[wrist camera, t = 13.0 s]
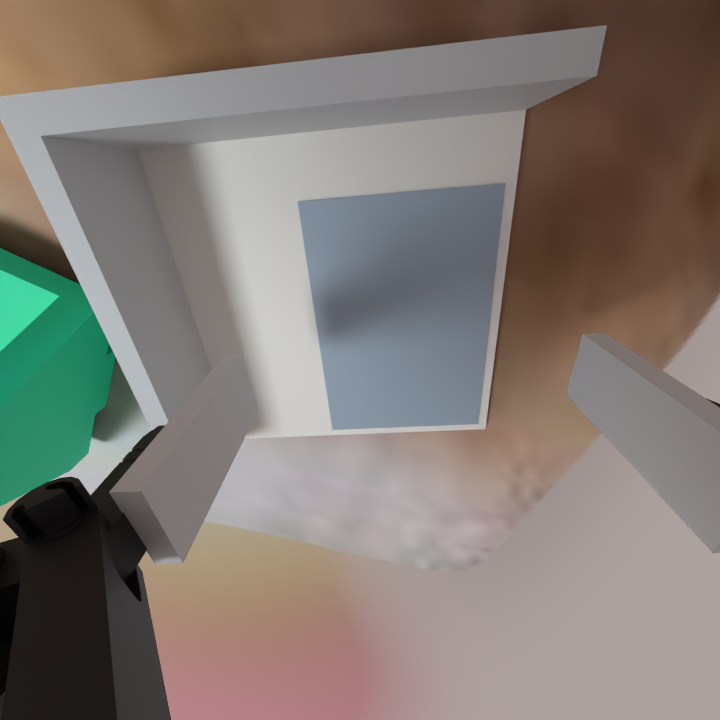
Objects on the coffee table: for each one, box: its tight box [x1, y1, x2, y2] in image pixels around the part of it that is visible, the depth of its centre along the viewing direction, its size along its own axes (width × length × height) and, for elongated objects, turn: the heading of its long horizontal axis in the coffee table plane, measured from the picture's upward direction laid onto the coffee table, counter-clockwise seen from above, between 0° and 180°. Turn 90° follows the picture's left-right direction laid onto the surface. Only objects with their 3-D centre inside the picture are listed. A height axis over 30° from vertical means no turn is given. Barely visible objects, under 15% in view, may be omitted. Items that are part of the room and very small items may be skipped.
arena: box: [0, 25, 607, 439], centre depth 15 cm, size 17×17×5 cm
